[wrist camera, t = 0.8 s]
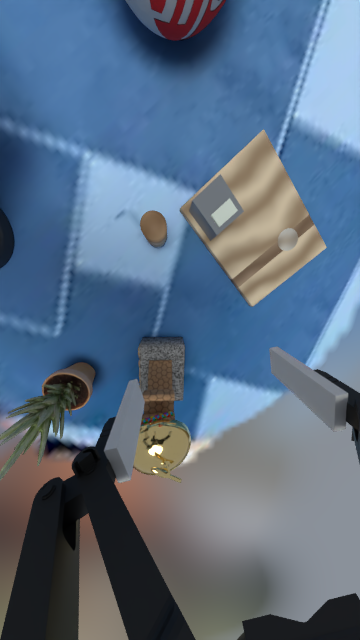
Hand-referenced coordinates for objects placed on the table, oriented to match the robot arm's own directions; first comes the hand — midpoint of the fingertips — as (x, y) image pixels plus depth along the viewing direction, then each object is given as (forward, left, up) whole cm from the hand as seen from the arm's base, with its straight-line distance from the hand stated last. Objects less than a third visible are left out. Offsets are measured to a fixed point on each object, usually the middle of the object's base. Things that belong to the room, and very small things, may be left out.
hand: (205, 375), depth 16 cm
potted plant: (-5, -28, -25) cm, 38 cm away
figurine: (+6, -12, -25) cm, 28 cm away
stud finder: (-12, +18, -23) cm, 32 cm away
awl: (-16, +7, -25) cm, 30 cm away
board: (-4, +24, -25) cm, 34 cm away
